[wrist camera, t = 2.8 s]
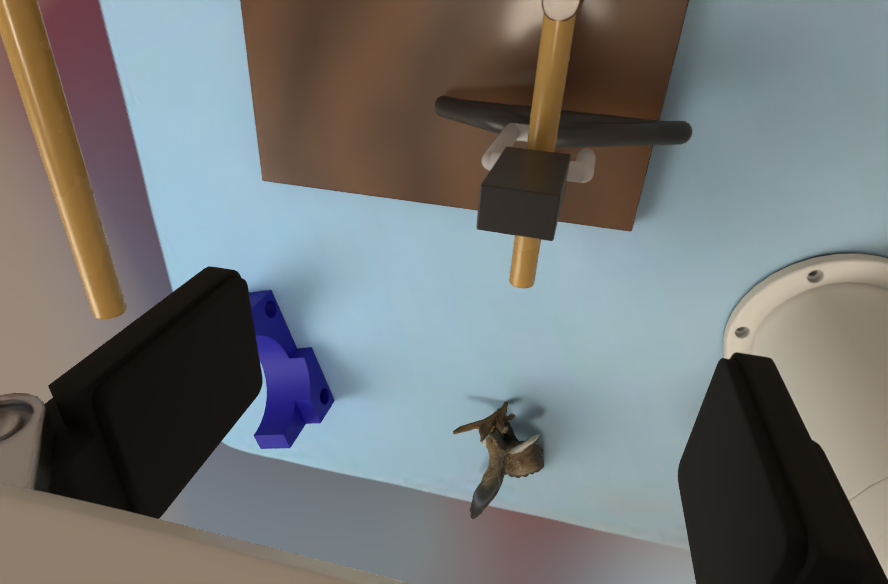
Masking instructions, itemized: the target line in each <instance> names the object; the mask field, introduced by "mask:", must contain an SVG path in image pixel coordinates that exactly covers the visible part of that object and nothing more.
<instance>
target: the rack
mask: <svg viewBox="0 0 888 584" xmlns="http://www.w3.org/2000/svg"><path fill="white" fill-rule="evenodd" d="M240 1H241V10H242V18H243V26H244V34H245V42H246V50H247V59H248V67H249V75H250V83H251V91H252V99H253V107H254V116H255V124H256V132H257V140H258V148H259V156H260V165H261V173H262V180H263V181H268V182H276V183H283V184H290V185H297V186H305V187H312V188H319V189H326V190H334V191H341V192H348V193H356V194H363V195H370V196H377V197H385V198H392V199H399V200H406V201H414V202H421V203H428V204H435V205H443V206H450V207H457V208H464V209H472V210H478V206H479V194H480V185H481V184H482V182H483V181H484V179H485V178H486V176H487V175H488V173H489V172H490V170H487V169H485V168H484V167H483V165H482V157H483V155H484V154H485V153H486V151H487V150H488V149H489V147H490V146H491V145H492V143H493V142H494V141H495V139H496V138H497V137H498V136H499V134H498V133H494V132H491V131H487V130H484V129H481V128H477V127H474V126H471V125H467V124H464V123H461V122H457V121H454V120H451V119H447V118H444V117H441V116H439V115H438V114H437V113H436V112H435V109H434V103H435V101H436V99H437V98H438V97H440V96H443V95H445V96H450V97H454V98H458V99H465V100H475V101H484V102H493V103H503V104H512V105H521V106H530V107H532V108H531V116H530V123H529V131H528V139H527V142H524V141H518V140H515V142H514V144H513V145H512V147H516V148H524V149H532V150H540V151H548V152H556V153H564V154H570V155H571V159H570V161H576V158H577V155H578V153H579V152H580V151H581V150H583V149H590V150H592V151H593V152H594V153H595V167H594V175H593V177H592V179H591V180H590V181H588V182H586V183H579V182H572V181H567V182H566V188H565V193H564V197H563V201H562V206H561V210H560V214H559V218H558V221H559V222H566V223H573V224H580V225H588V226H595V227H602V228H610V229H617V230H624V231H632V228H633V224H634V220H635V216H636V212H637V208H638V204H639V200H640V196H641V192H642V188H643V184H644V180H645V176H646V172H647V168H648V164H649V160H650V156H651V152H652V148H653V145H642V146H610V147H578V148H555V147H556V141H557V134H558V128H559V121H560V115H561V110H567V111H577V112H586V113H595V114H604V115H614V116H623V117H632V118H641V119H651V120H659V119H660V115H661V111H662V107H663V103H664V99H665V95H666V91H667V87H668V83H669V79H670V75H671V71H672V67H673V63H674V59H675V55H676V51H677V47H678V43H679V39H680V35H681V31H682V27H683V23H684V19H685V15H686V10H687V6H688V2H689V0H240ZM0 34H1V37H2V40H3V43H4V46H5V49H6V52H7V55H8V58H9V61H10V64H11V67H12V70H13V73H14V76H15V79H16V82H17V85H18V88H19V91H20V94H21V98H22V101H23V104H24V107H25V109H26V113H27V116H28V119H29V122H30V125H31V128H32V131H33V134H34V137H35V140H36V143H37V146H38V149H39V152H40V155H41V158H42V161H43V164H44V167H45V170H46V173H47V176H48V179H49V182H50V186H51V189H52V191H53V195H54V198H55V201H56V204H57V206H58V210H59V213H60V216H61V219H62V222H63V225H64V228H65V231H66V234H67V237H68V240H69V243H70V246H71V249H72V252H73V255H74V258H75V261H76V264H77V267H78V270H79V273H80V276H81V279H82V282H83V286H84V289H85V292H86V295H87V298H88V301H89V303H90V306H91V310H92V313H93V315H94V317H96V318H98V319H110V318H115V317H118V316H120V315H122V314H123V313H124V312H125V311H126V303H125V300H124V296H123V293H122V290H121V286H120V283H119V279H118V276H117V272H116V269H115V266H114V262H113V259H112V255H111V252H110V248H109V245H108V241H107V238H106V234H105V231H104V228H103V224H102V221H101V217H100V214H99V211H98V207H97V204H96V200H95V197H94V193H93V190H92V186H91V183H90V179H89V176H88V172H87V169H86V166H85V162H84V159H83V156H82V152H81V148H80V145H79V141H78V138H77V135H76V131H75V128H74V124H73V121H72V118H71V114H70V110H69V107H68V103H67V100H66V97H65V93H64V90H63V87H62V83H61V79H60V77H59V73H58V69H57V66H56V62H55V59H54V55H53V52H52V48H51V45H50V41H49V38H48V35H47V31H46V28H45V24H44V21H43V17H42V14H41V10H40V7H39V4H38V0H0ZM540 243H541V239H536V238H530V237H523V236H517V235H515V239H514V247H513V255H512V262H511V270H510V278H509V282H510V284H511V285H513V286H515V287H518V288H530V287H532V286H533V285H534V281H535V275H536V268H537V262H538V255H539V249H540Z"/></svg>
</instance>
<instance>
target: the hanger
mask: <svg viewBox="0 0 888 584" xmlns="http://www.w3.org/2000/svg"><path fill="white" fill-rule="evenodd" d="M531 108H532V107H530V106H521V105H512V104H503V103H493V102H484V101H475V100H465V99H458V98H454V97H450V96H445V95H443V96H440V97H438V98H437V99H436V101H435V103H434V109H435V112H436V113H437V114H438V115H439V116H441V117H444V118H447V119H451V120H454V121H457V122H461V123H464V124H467V125H471V126H474V127H477V128H481V129H484V130H487V131H491V132H494V133H498V134H499V136H498V137H497V138H496V139H495V141H494V142H493V143H492V145H491V146H490V147H489V149H488V150H487V151H486V153H485V154H484V155H483V157H482V165H483V167H484V168H485V169H487V170H490V172H489V173H488V175H487V176H486V178H485V179H484V181H483V182H482V184H481V185H480V194H479V206H478V217H477V229H479V230H485V231H491V232H498V233H504V234H511V235H517V236H523V237H530V238H536V239H542V240H549V241H553V239H554V235H555V231H556V227H557V222H558V218H559V214H560V210H561V206H562V201H563V197H564V193H565V188H566V182H567V181H572V182H579V183H586V182H588V181H590V180H591V179H592V177H593V175H594V167H595V153H594V152H593V151H592V150H590V149H583V150H581V151H580V152H579V153H578V155H577V158H576V161H570V159H571V155H570V154H564V153H556V152H548V151H540V150H532V149H524V148H516V147H512V145H513V144H514V142H515V140H518V141H524V142H527V139H528V131H529V123H530V116H531ZM691 135H692V127H691V126H690V124H689V123H687V122H685V121H660V120H651V119H641V118H632V117H623V116H614V115H604V114H595V113H586V112H577V111H567V110H561V115H560V121H559V128H558V134H557V141H556V147H555V148H578V147H610V146H642V145H674V144H683V143H685V142H687V141H688V140H689V139H690V137H691Z"/></svg>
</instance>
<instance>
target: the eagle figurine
mask: <svg viewBox="0 0 888 584" xmlns="http://www.w3.org/2000/svg"><path fill="white" fill-rule="evenodd" d="M507 406H508V402H507V401H506V402H504V404H503V405H502V407H501V408H499V409H497V411H496V412H494V413H493V414H492V415H490V416H489V417H487V418H485V419H483V420H479V421H476V422H473V423H470V424H466V425H463V426H460V427H458V428H457V429H456V430H454V431H453V434H457V433H461V432H466V431H470V430H472V429H479V434H480V436H481V440H480V441H481V442H482V443H483V444H484V445H485V447H487V449H488V452H489V455H490V460H489V466H488V469H487V471H486V472H485V473H484V475H483V478H482V481H481V483H480V484H479V485H478V487H477V488H476V490H475V492H474V495H473V500H472V504H471V508H470V511H471V518H472V519H474V518H476V517H478V516H479V515H480V514H481V513H482V511H483V510H484V509H485V508H486V507H487V506H488V505H489V504H490V502H491V501H492V500H493V499H494V497H495V496H496V495H497V493H498V491H499V489H500V487H501V484H502V482H503V478H504V475H507V474H508V475H509V476H510V477H514V476H515V477H517V478H520V477H521V476H523V477H527V476H528V475H529V474H534V472H539V471H540V470H541V469H542V468H543V467H544V464H543V461H542V460H543V459H542V458H543V456H542V454H543V453H542V451H543V450H542V449H541V447H539V445H538V444H533V445H531V444H532V443H533V442H534V441H536V440H537V439H538V438H539V436H540V435H534V436H532V437H530V438H528V439H527V440H525V441H518V439H517V438H516V436H515V435H514V432H513V429H512V428H511V426H510V423H509V422H508V420H512V419H513V418H514V417H515V415H514V414H510V415H509V416H507V415H505V414H506V412H507ZM498 429H499V430H500V431H501V432H502V434H501V432H499V430H498Z"/></svg>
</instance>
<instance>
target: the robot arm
mask: <svg viewBox="0 0 888 584" xmlns="http://www.w3.org/2000/svg"><path fill="white" fill-rule="evenodd" d="M812 271H814V272H812ZM810 272H812V273H810ZM723 352H724V358H722V359H720V361H719V362H718V364H717V367H716V369H715V372H714V374H713V377H712V380H711V382H710V385H709V387H708V390H707V393H706V395H705V398H704V400H703V403H702V406H701V408H700V411H699V413H698V416H697V419H696V421H695V424H694V427H693V429H692V432H691V434H690V437H689V440H688V442H687V445H686V447H685V450H684V453H683V455H682V458H681V460H680V464H679V469H678V483H679V489H680V495H681V500H682V506H683V512H684V517H685V523H686V529H687V534H688V540H689V546H690V551H691V557H692V562H693V568H694V574H695V579H696V584H888V259H887V258H884V257H880V256H873V255H865V254H834V255H828V256H822V257H816V258H811V259H808V260H805V261H802V262H799V263H796V264H792V265H790V266H788V267H786V268H784V269H782V270H780V271H778V272H776V273H773V274H772V275H770V276H769V277H767V278H766V279H764V280H763V281H761V282H760V283H759V284H757V285H756V286H755V287H754V288H753V289H751V290H750V291H749V292H748V293H747V294H746V295H745V296H744V297H743V298H742V299H741V301H740V302H739V303H738V305H737V306H736V308H735V309H734V310H733V312H732V314H731V316H730V318H729V320H728V323H727V325H726V327H725V332H724V338H723ZM261 387H262V372H261V366H260V360H259V354H258V347H257V341H256V335H255V329H254V322H253V316H252V310H251V304H250V297H249V291H248V286H247V282H246V281H245V280H244V279H242V278H241V276H240V274H239V273H238V272H237V271H235V270H230V269H224V268H217V267H207V268H205V269H203V270H202V271H201V272H199V273H198V274H197V275H195V276H194V277H193V278H191V279H190V280H189V281H187V282H186V283H185V284H183V285H182V286H181V287H179V288H178V289H177V290H175V291H174V292H173V293H171V294H170V295H169V296H167V297H166V298H165V299H163V300H162V301H161V302H159V303H158V304H157V305H155V306H154V307H153V308H151V309H150V310H149V311H147V312H146V313H145V314H143V315H142V316H141V317H139V318H138V319H137V320H135V321H134V322H133V323H131V324H130V325H129V326H127V327H126V328H125V329H123V330H122V331H121V332H119V333H118V334H117V335H115V336H114V337H113V338H112V339H110V340H109V341H107V342H106V343H105V344H103V345H102V346H101V347H99V348H98V349H97V350H95V351H94V352H93V353H91V354H90V355H89V356H87V357H86V358H85V359H83V360H82V361H81V362H79V363H78V364H76V365H75V366H74V367H73V368H71V369H70V370H68V371H67V372H66V373H65V374H63V375H62V376H61V377H59V378H58V379H56V380H55V381H54V382H52V383H51V384H50V385H49V389H50V391H51V393H52V396H53V398H52V399H51V400H49V401H48V402H47V403H45V404H44V402H43V401H41V400H40V399H39V398H38V397H37V396H34V395H30V394H24V393H12V394H5V395H0V584H411V583H407V582H403V581H399V580H396V579H392V578H388V577H384V576H380V575H376V574H373V573H369V572H365V571H361V570H357V569H353V568H349V567H345V566H342V565H338V564H334V563H330V562H326V561H322V560H318V559H314V558H310V557H307V556H302V555H299V554H295V553H290V552H287V551H283V550H279V549H275V548H271V547H268V546H263V545H260V544H256V543H251V542H247V541H244V540H240V539H236V538H232V537H228V536H224V535H220V534H216V533H212V532H208V531H204V530H200V529H196V528H192V527H188V526H184V525H180V524H176V523H172V522H168V521H164V520H160V519H159V518H160V517H161V516H162V515H163V514H164V512H165V511H166V510H167V509H168V507H169V506H170V505H171V503H172V502H173V501H174V500H175V499H176V497H177V496H178V495H179V493H180V492H181V491H182V489H184V487H185V486H186V485H187V483H188V482H189V481H190V480H191V478H192V477H193V476H194V475H195V474H196V472H197V471H198V469H199V468H200V467H201V466H202V465H203V463H204V462H205V461H206V460H207V458H208V457H209V456H210V455H211V453H212V452H213V451H214V450H215V448H216V447H217V446H218V445H219V443H220V442H221V441H222V440H223V438H224V437H225V436H226V435H227V433H228V432H229V431H230V430H231V428H232V427H233V426H234V425H235V423H236V422H237V421H238V420H239V418H240V417H241V416H242V415H243V413H244V412H245V411H246V410H247V408H248V407H249V406H250V405H251V403H252V402H253V401H254V400H255V398H256V397H257V396H258V394H259V392H260V390H261Z"/></svg>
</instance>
